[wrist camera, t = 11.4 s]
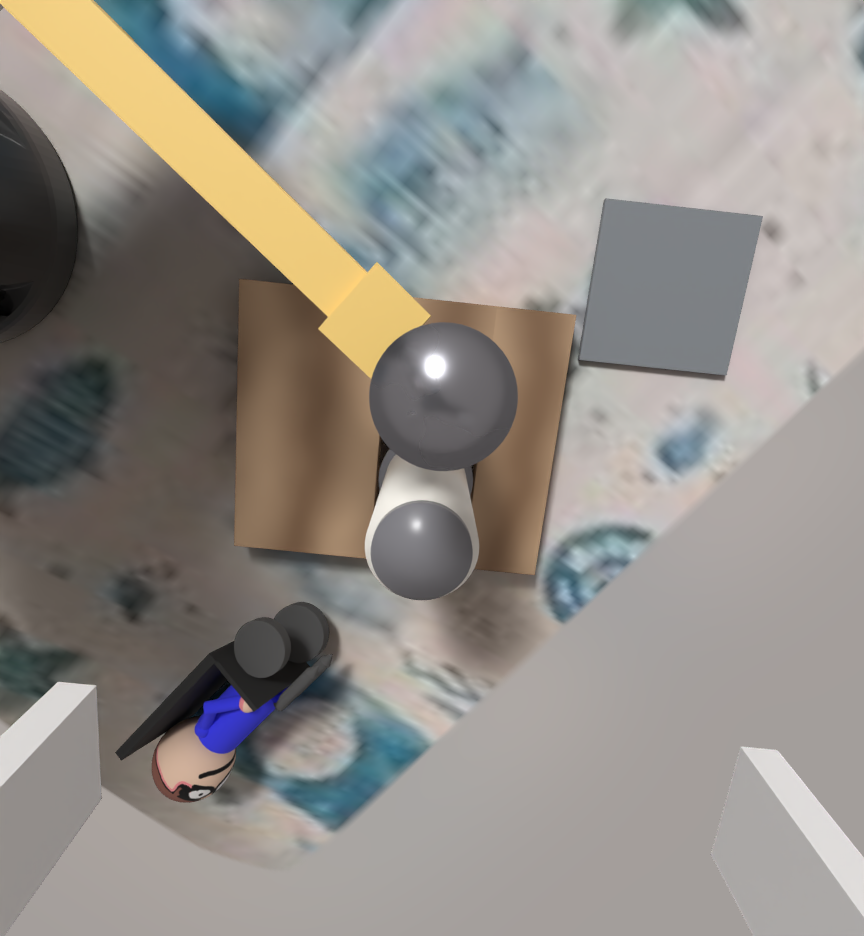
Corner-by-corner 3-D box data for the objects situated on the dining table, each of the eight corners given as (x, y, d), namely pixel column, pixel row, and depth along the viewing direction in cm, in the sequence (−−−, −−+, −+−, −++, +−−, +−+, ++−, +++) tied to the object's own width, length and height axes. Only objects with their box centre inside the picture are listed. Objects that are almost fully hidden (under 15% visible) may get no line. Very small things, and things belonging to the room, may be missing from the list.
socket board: (244, 534, 38) (234, 545, 36) (250, 281, 34) (239, 278, 32) (529, 562, 38) (534, 575, 36) (568, 315, 34) (576, 314, 32)
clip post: (404, 382, 33) (363, 463, 14) (410, 319, 32) (374, 314, 13) (465, 388, 33) (507, 477, 14) (473, 326, 33) (527, 330, 13)
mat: (577, 359, 35) (579, 359, 34) (603, 199, 33) (606, 198, 32) (723, 374, 35) (726, 375, 35) (759, 217, 33) (762, 216, 32)
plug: (381, 500, 37) (348, 609, 23) (388, 418, 36) (357, 480, 22) (463, 508, 37) (481, 622, 23) (473, 426, 36) (499, 494, 22)
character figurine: (356, 625, 40) (220, 753, 43) (275, 561, 38) (139, 698, 41) (345, 704, 32) (181, 852, 35) (243, 628, 31) (79, 791, 33)
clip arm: (108, -5, 17) (31, -82, 13) (431, 316, 19) (430, 315, 16) (61, 63, 17) (-25, 4, 14) (381, 370, 19) (371, 379, 16)
